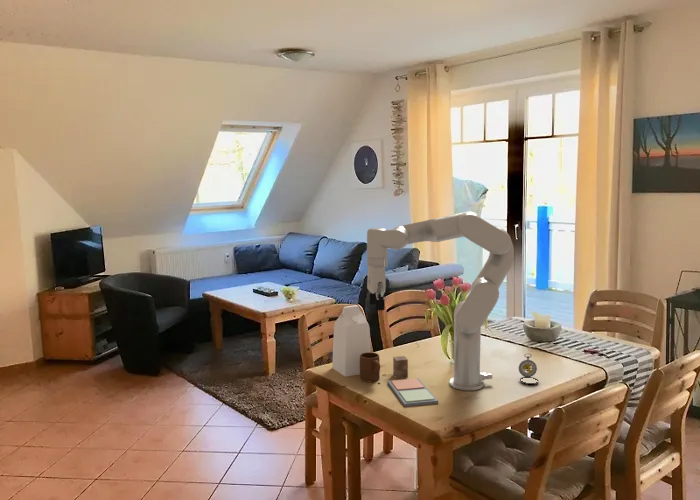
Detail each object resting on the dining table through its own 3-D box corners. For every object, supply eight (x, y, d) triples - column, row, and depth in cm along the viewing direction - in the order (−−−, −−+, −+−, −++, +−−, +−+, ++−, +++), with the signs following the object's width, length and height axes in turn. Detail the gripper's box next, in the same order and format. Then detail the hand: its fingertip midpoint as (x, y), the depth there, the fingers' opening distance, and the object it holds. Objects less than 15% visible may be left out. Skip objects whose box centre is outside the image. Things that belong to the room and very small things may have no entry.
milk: (358, 363, 244) (357, 301, 240) (372, 371, 234) (371, 307, 230) (332, 367, 239) (331, 305, 235) (345, 376, 229) (344, 311, 225)
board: (418, 380, 223) (418, 377, 223) (438, 403, 202) (438, 399, 202) (387, 383, 221) (387, 379, 221) (404, 406, 199) (404, 402, 199)
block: (404, 373, 232) (404, 356, 231) (407, 377, 227) (407, 359, 226) (393, 374, 231) (393, 356, 230) (396, 378, 226) (396, 360, 225)
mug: (388, 384, 220) (388, 360, 218) (369, 387, 217) (369, 363, 215) (374, 374, 231) (374, 351, 229) (356, 377, 228) (356, 353, 226)
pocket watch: (528, 387, 215) (529, 360, 214) (512, 379, 223) (513, 354, 221) (545, 383, 219) (546, 357, 218) (528, 376, 227) (529, 350, 225)
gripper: (362, 258, 225) (362, 302, 227) (372, 266, 208) (372, 313, 211) (381, 257, 226) (380, 301, 229) (393, 265, 210) (392, 312, 212)
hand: (376, 307), depth 220 cm, fingers open, 9 cm apart
